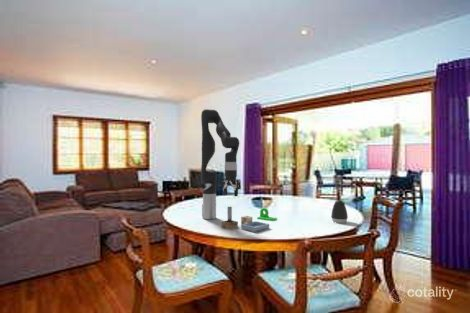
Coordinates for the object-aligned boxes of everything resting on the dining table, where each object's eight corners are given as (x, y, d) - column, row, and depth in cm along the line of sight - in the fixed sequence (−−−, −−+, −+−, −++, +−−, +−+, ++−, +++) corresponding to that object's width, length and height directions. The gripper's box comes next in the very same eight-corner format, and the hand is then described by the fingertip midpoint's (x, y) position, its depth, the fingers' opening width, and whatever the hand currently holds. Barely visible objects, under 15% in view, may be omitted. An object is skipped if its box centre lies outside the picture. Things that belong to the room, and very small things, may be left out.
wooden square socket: (221, 228, 180) (221, 221, 180) (229, 226, 185) (229, 219, 185) (229, 230, 175) (229, 223, 175) (237, 228, 180) (237, 221, 180)
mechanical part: (257, 220, 203) (257, 208, 203) (261, 218, 208) (261, 207, 208) (272, 222, 197) (272, 210, 197) (276, 220, 202) (276, 209, 202)
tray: (241, 229, 177) (241, 224, 177) (255, 225, 186) (255, 221, 186) (255, 232, 169) (255, 227, 169) (269, 229, 178) (269, 224, 178)
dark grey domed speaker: (337, 225, 188) (337, 201, 188) (328, 221, 198) (328, 199, 198) (351, 224, 190) (351, 200, 190) (341, 221, 200) (341, 198, 200)
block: (241, 226, 185) (241, 216, 185) (246, 225, 189) (246, 215, 189) (247, 227, 182) (247, 217, 182) (252, 226, 185) (252, 216, 185)
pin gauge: (226, 226, 180) (226, 206, 180) (229, 225, 182) (229, 206, 182) (229, 227, 179) (229, 207, 179) (232, 226, 180) (232, 206, 180)
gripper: (218, 169, 183) (218, 195, 183) (235, 169, 173) (235, 197, 173) (226, 168, 188) (226, 194, 188) (243, 169, 179) (243, 196, 179)
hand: (230, 195), depth 181 cm, fingers open, 8 cm apart
